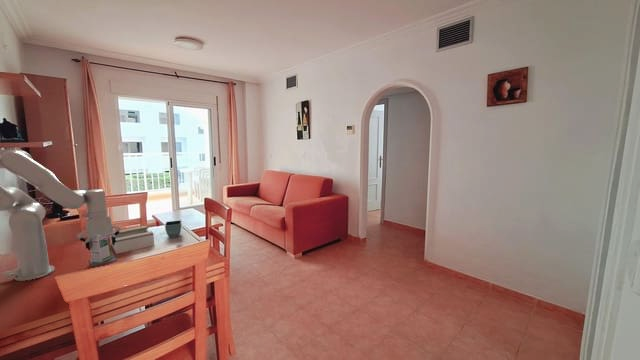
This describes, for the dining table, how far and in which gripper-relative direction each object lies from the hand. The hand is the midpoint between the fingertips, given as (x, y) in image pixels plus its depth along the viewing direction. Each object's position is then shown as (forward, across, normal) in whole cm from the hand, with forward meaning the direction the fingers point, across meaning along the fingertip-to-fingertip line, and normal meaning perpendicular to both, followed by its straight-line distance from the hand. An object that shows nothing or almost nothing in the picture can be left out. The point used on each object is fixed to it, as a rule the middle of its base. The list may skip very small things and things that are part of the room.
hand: (101, 246), depth 135 cm
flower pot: (+7, +37, +13) cm, 40 cm away
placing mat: (+7, 0, 0) cm, 7 cm away
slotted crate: (+7, +15, +14) cm, 22 cm away
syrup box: (+7, 0, 0) cm, 7 cm away
